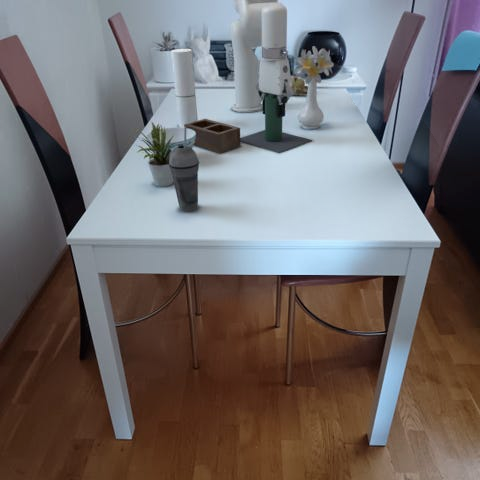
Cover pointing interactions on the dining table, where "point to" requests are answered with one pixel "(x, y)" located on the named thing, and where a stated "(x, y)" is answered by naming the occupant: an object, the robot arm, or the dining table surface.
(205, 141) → the caddy
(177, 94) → the cylindrical container
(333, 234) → the dining table surface
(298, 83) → the ceramic sculpture
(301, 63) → the flower vase
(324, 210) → the dining table surface
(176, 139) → the chinaware
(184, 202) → the beverage cup
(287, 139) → the mat
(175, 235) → the dining table surface
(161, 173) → the house plant
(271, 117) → the bottle
